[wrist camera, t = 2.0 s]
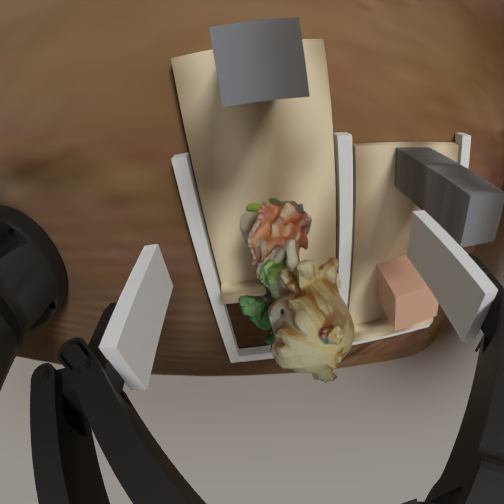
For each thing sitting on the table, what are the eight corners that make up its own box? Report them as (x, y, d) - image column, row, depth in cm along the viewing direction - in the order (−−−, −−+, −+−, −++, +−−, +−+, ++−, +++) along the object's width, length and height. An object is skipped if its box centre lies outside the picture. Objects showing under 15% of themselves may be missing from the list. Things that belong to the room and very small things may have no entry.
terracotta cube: (378, 298, 30) (394, 331, 26) (376, 264, 28) (395, 297, 24) (417, 285, 30) (436, 315, 26) (418, 250, 27) (442, 280, 23)
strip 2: (344, 329, 34) (368, 405, 25) (351, 143, 22) (420, 195, 13) (421, 312, 34) (456, 377, 25) (453, 142, 22) (534, 188, 13)
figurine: (256, 171, 24) (260, 288, 11) (336, 206, 25) (406, 333, 12) (217, 258, 28) (194, 401, 15) (290, 284, 30) (309, 422, 17)
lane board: (230, 355, 36) (230, 362, 35) (174, 155, 22) (171, 159, 21) (425, 320, 35) (429, 326, 34) (463, 132, 21) (471, 136, 20)
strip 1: (225, 290, 30) (221, 382, 21) (173, 59, 18) (118, 46, 9) (332, 275, 29) (364, 362, 20) (320, 40, 17) (383, 16, 8)
